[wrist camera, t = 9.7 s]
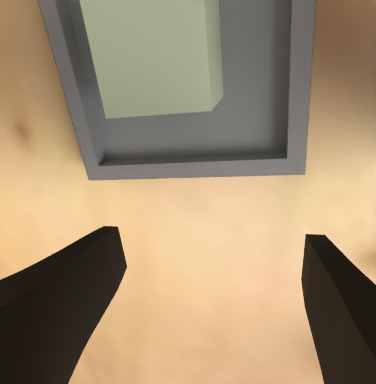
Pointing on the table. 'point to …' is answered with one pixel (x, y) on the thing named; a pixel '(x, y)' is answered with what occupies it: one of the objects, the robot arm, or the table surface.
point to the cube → (155, 55)
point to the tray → (200, 121)
